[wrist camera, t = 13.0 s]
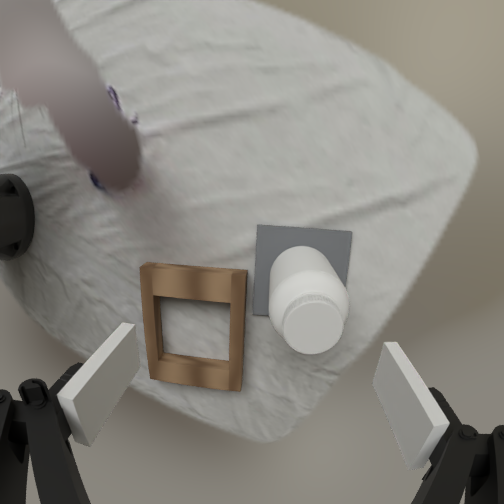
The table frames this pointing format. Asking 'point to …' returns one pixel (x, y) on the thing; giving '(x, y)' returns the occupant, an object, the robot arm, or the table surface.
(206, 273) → the pocket board
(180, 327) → the table surface
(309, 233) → the mat
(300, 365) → the table surface
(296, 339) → the pill bottle
